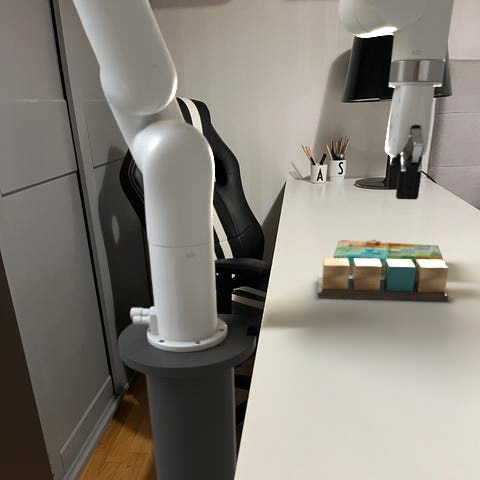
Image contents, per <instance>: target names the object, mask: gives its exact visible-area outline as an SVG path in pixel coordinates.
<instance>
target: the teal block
mask: <svg viewBox="0 0 480 480" xmlns="http://www.w3.org/2000/svg"><path fill="white" fill-rule="evenodd" d="M415 270H416V267H415V265H414V263H413V262H412V260H411V259H386V261H385V271H384V276H383V279H384V281H383V282H384V285H385V288H386V290H387V291H413V286H414V278H415Z"/></svg>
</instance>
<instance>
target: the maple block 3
mask: <svg viewBox="0 0 480 480" xmlns="http://www.w3.org/2000/svg"><path fill="white" fill-rule="evenodd" d="M443 260H444V259H443ZM443 260H416V270H415V278H414V285H415V287H416V289H417V290H418V292H446V286H447V280H448V274H449V266H448V265H447V264H446V263H445V261H444V262H443Z"/></svg>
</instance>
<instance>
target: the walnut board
mask: <svg viewBox="0 0 480 480" xmlns="http://www.w3.org/2000/svg"><path fill="white" fill-rule="evenodd" d="M383 281H384V278H381V282H380V290H379V291H377V290H354V288H353V284H352V278H349V281H348V290H340V289H322V277H317V298H318V299H337V300H340V299H342V300H371V301H373V300H374V301H375V300H377V301H405V302H407V301H408V302H410V301H411V302H440V303H441V302H445V303H447V302H449V295H448V293H447V292H446V291H445V292H418V290H417V289H416V287H415V285H414V286H413V291H387V290H386V288H385V285H384V282H383Z"/></svg>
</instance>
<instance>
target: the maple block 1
mask: <svg viewBox="0 0 480 480" xmlns="http://www.w3.org/2000/svg"><path fill="white" fill-rule="evenodd" d="M349 267H350V266H349V261H348V258H334V257H323V258H322V273H321V278H322V289H340V290H348V281H349V279H350V274H349Z"/></svg>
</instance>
